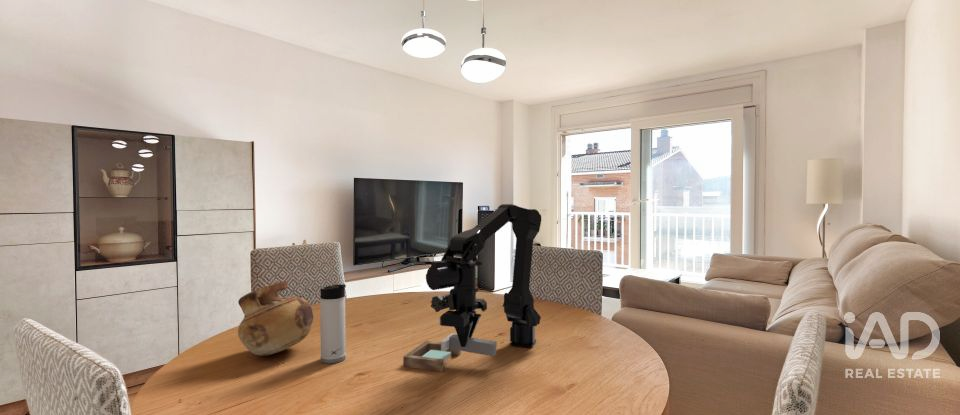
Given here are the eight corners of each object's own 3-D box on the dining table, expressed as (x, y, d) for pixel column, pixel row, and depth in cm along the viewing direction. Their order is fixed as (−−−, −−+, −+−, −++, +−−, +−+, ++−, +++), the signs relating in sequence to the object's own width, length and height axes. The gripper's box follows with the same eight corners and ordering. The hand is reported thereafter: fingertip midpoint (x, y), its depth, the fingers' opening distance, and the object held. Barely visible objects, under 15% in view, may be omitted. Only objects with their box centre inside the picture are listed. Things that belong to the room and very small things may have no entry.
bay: (460, 353, 117) (460, 344, 117) (441, 371, 105) (441, 361, 105) (426, 349, 121) (426, 340, 121) (403, 366, 109) (403, 356, 109)
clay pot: (271, 340, 130) (270, 274, 130) (327, 344, 126) (326, 276, 126) (221, 363, 111) (220, 287, 111) (284, 369, 107) (283, 289, 107)
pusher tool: (498, 350, 111) (499, 338, 110) (490, 359, 104) (491, 347, 104) (451, 341, 115) (452, 330, 115) (440, 350, 108) (441, 338, 108)
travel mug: (339, 364, 110) (338, 287, 110) (315, 362, 111) (315, 286, 111) (351, 356, 116) (350, 282, 116) (329, 354, 117) (328, 282, 117)
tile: (451, 359, 114) (451, 352, 114) (442, 367, 109) (442, 359, 109) (430, 356, 116) (430, 349, 116) (420, 364, 111) (420, 357, 111)
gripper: (450, 276, 121) (450, 331, 121) (419, 289, 103) (420, 353, 104) (487, 278, 117) (487, 335, 118) (462, 292, 100) (463, 358, 100)
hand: (465, 344), depth 110 cm, fingers closed on pusher tool, 2 cm apart
